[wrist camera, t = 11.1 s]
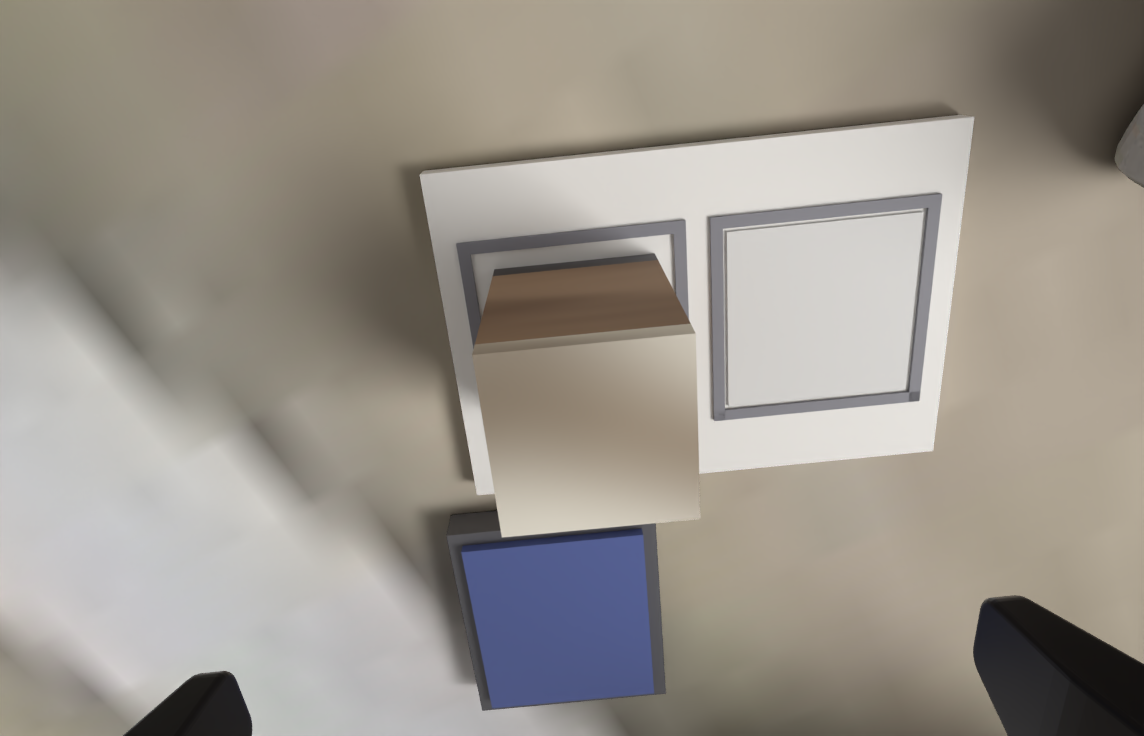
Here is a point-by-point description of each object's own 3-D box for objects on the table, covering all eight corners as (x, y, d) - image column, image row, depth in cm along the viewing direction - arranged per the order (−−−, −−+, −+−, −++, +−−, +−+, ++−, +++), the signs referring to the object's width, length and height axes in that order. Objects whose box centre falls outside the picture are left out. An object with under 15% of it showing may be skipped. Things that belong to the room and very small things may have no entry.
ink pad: (661, 669, 24) (667, 701, 23) (484, 685, 24) (481, 718, 23) (650, 495, 21) (656, 522, 20) (450, 515, 21) (445, 542, 20)
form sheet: (923, 440, 21) (934, 452, 20) (478, 483, 21) (476, 497, 20) (960, 115, 17) (976, 117, 17) (423, 171, 17) (418, 175, 17)
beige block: (661, 397, 19) (700, 518, 14) (514, 411, 19) (501, 537, 14) (655, 253, 18) (695, 333, 13) (494, 269, 18) (472, 355, 13)
